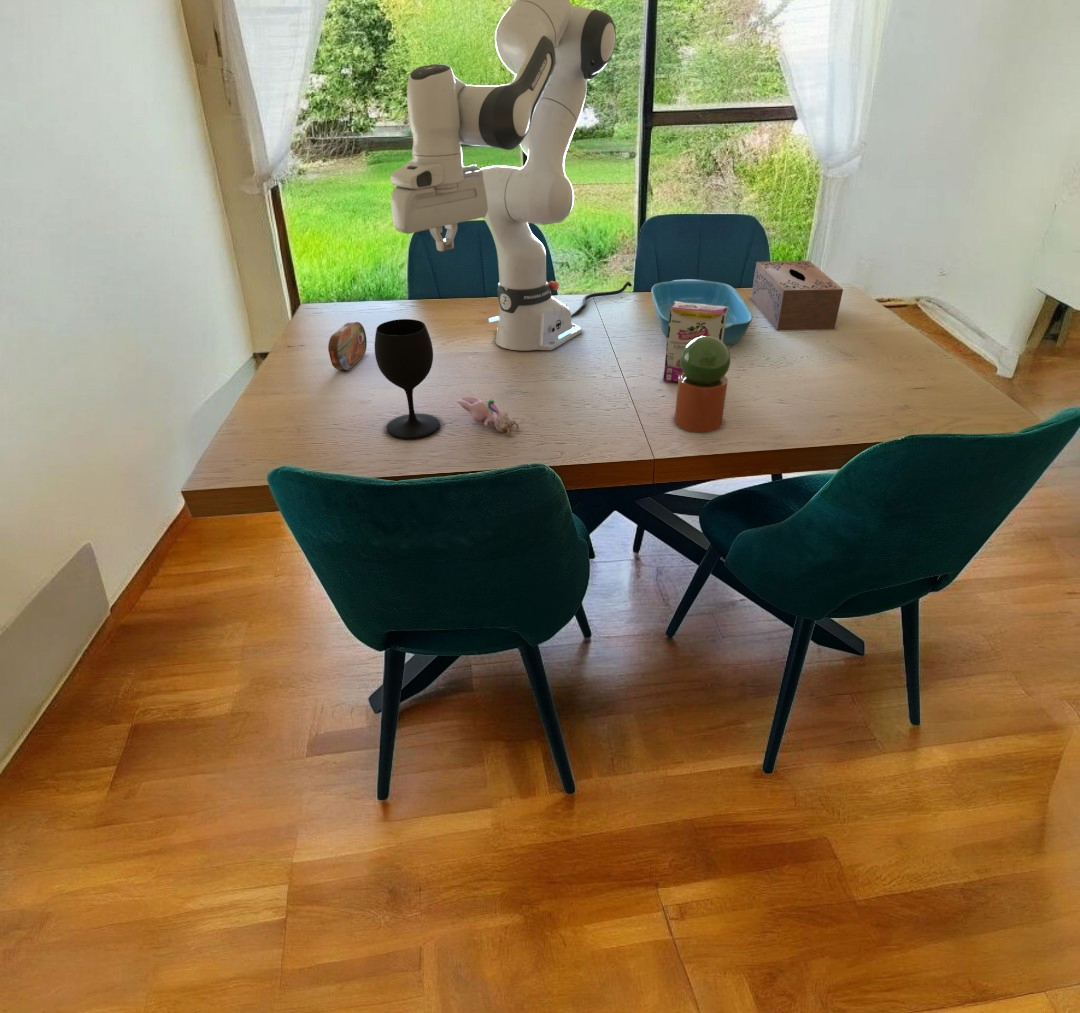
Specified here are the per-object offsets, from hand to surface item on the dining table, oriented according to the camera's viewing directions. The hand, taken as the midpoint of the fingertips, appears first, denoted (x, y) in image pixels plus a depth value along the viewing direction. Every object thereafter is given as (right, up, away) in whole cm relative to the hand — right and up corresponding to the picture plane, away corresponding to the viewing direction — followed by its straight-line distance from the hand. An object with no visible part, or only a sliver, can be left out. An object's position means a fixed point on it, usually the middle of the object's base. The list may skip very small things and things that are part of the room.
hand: (445, 249), depth 137 cm
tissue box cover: (+85, +2, +54) cm, 101 cm away
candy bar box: (+51, -22, +18) cm, 58 cm away
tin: (-26, -16, +30) cm, 43 cm away
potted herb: (+49, -33, +2) cm, 59 cm away
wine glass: (-6, -34, +2) cm, 35 cm away
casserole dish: (+58, -4, +46) cm, 74 cm away
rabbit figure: (+8, -33, +3) cm, 34 cm away
